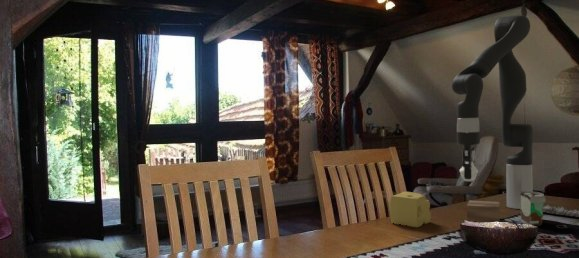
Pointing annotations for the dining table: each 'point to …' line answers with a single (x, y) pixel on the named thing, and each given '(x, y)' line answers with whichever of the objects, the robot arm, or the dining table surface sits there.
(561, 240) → the dining table surface
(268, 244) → the dining table surface
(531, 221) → the food container
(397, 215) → the cheese
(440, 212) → the dining table surface
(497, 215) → the walnut block
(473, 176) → the white vase
